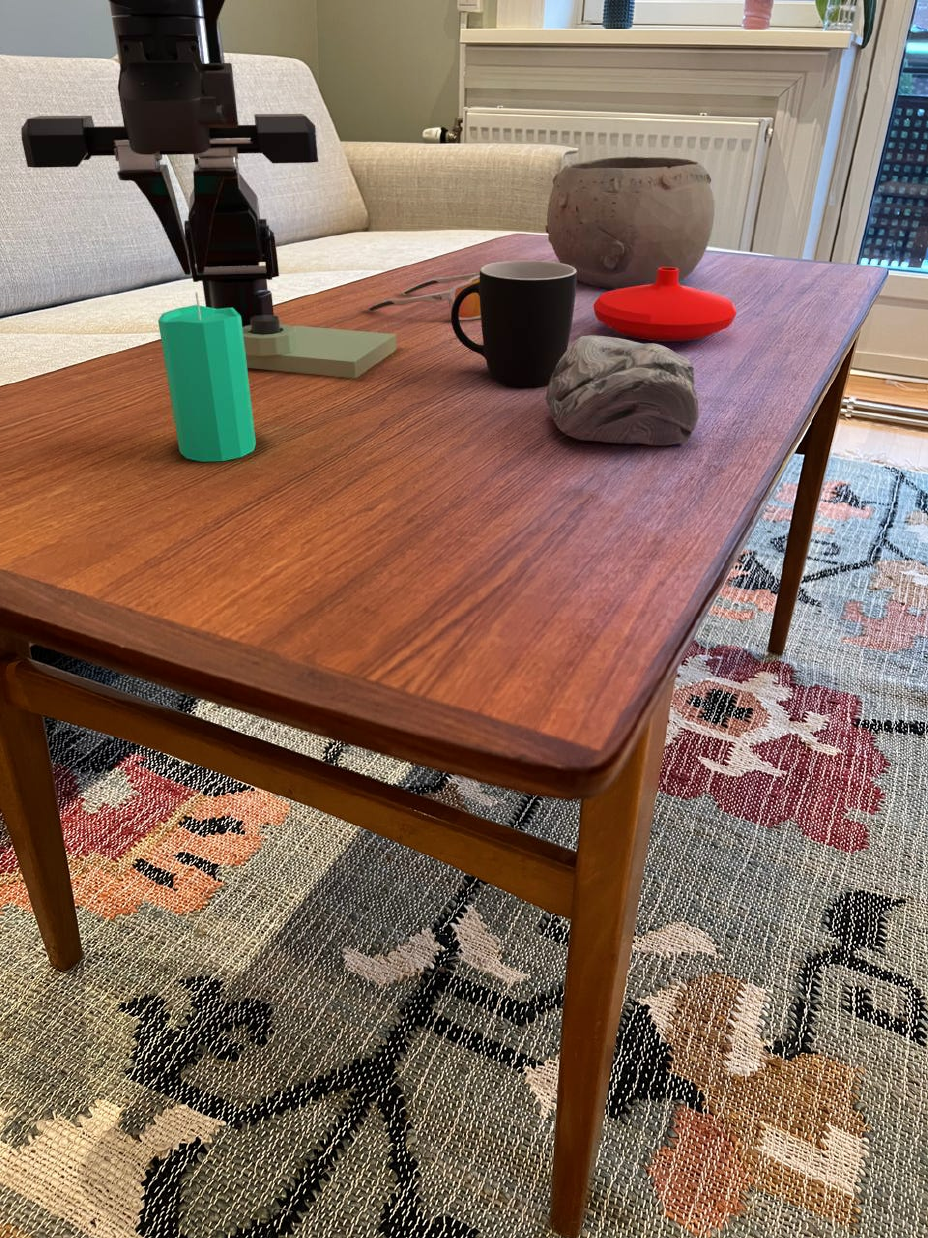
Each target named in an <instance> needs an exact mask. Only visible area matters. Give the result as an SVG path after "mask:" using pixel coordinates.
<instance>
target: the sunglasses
mask: <svg viewBox="0 0 928 1238" xmlns="http://www.w3.org/2000/svg"><path fill="white" fill-rule="evenodd" d="M479 279H480V271H479V272H473V273H466V274H458V275H453V276H446V277H435V278H433V279H430V280H426V281H424V282H423V281H422V282H420V283H418V284H416V285H413V286H412V287H409V288H408V289H405V290H403V291H402V292H401V293H400V294H401V295H403V296H404V297H405V296H408V295H412V294H413V293H415V292H418V291H420V290H423V289H426V288H428V287H432V286H437V285H443V284H446V285H447V284H450V283H453V282H458V281H465V282H463V283H461V284H457V285H455V286H452V287H451V288H450V289H449V290H445V291H440V292H435V293H430V294H425V295H419V296H414V297H407V298H390V299H387V300H383V301H380V302H377V303H375V304H373V305H371V306H369V307H367V311H368V312H370V313H373V312H376V311H378V310H381V309H383V308H387V307H393V306H394V307H395V306H401V307H403V306H407V305H410V304H414V303H423V302H428V303H435V304H436V303H439V302H442V301H448V302H449V314H450V316H451V311H452V306H453V303H454V301H455V299H456V297H457V296H458V295H459V293H460V292H461V291H462V290H463V289H465V288H466V287H468V286H470V285H472V284H475V283H478V282H479ZM466 280H467V281H466ZM478 319H481V312H480V297H479V295H478V293H472V294H469V295H468V296H467V297H466V298H465V299H464V300H463V302H462V303H461V306H460V309H459V321H473V320H478Z"/></svg>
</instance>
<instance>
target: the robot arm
mask: <svg viewBox="0 0 928 1238" xmlns="http://www.w3.org/2000/svg"><path fill="white" fill-rule="evenodd" d="M108 2H109V7H110V14H111V20H112V26H113V32H114V33H113V34H114V39H115V46H116V52H117V56H118V63H119V74H118V83H117V92H118V99H119V104H120V110H121V115H122V116H121V117H122V122H123V125H107V126H106V125H105V126H103V125H100V126H99V125H97V126H95V124H94V120H93V115H38V116H34V117H29V118H27V119H26V121H25V122H24V124H23V125H22V127H20V131H21V143H22V147H23V148H22V149H23V152H24V157H25V162H26V166H27V168H35V169H42V168H44V169H45V168H47V169H48V168H78V167H79V166H80V165H81V164H82V162H83V161H89V160H90V159H91V158H92V157H105V156H106V157H108V156H109V157H110V156H111V157H113V156H114V158H115V162H118V168H119V169H118V171H117V172H116V173H117V177H118V180H119V181H123V182H126V181H130V182H131V181H132V182H134V183H135V185H136V186H137V187H138V189H139V190H140V191H141V193H143V196H144V197H145V198H146V200H147V201H148V203H149V205H150V206H151V208H152V210H153V211H154V213H155V214H156V216H157V219H158V220H159V222H160V224H161V226H162V228H163V230H164V233H165V235H166V237H167V239H168V241H169V243H170V245H171V247H172V250H173V252H174V254H175V256H176V258H177V260H178V263H179V265H180V267H181V269H182V271H183V274H184V275H185V276H190V275H191V279H192V281H193V283H199V282H201V283H202V290H203V291H202V292H203V299H204V304H205V305H204V306H205V307H210V308H215V309H222V308H234V309H235V310H236V311H237V312H238V313H239V315H240V316H241V320H242V327H245V326H249V325H251V320H250V319H251V318H252V317H254V316H259V315H274V316H275V314H274V304H273V293H272V291H271V290H269V289H268V281H273V278H277V277H280V271H279V262H278V261H279V260H278V259H279V258H278V251H277V244H276V235H275V232H274V231H272V230H271V229H270V225H268V220H267V218H261V214H260V213H261V212H260V206H259V198H258V195H257V194H256V193H255V191H254V190H253V188H252V187H251V186H250V185H249V184H248V182H247V181H246V180H245V178H244V177H243V176H242V175H241V174H240V168H239V160H238V159H239V155H240V154H262V155H263V156H264V157H265V158H266V159H267V160H268V161H269V162H270V163H271V164H312V163H319V150H318V139H317V138H318V137H317V129H316V125H315V123H314V122H312V120H310V118H309V117H308V116H307V115H305V114H304V113H254V115H253V116H254V124H239V118H238V110H237V100H236V99H237V98H236V90H235V81H234V75H233V63H231V62H225V55H224V47H223V46H224V45H223V40H222V30H221V25H220V24H221V23H220V17H219V16H220V14H221V12H222V10H223V7H224V4H225V2H226V0H108ZM168 155H169V156H173V155H178V156H179V155H193V160H194V165H195V166H194V168H193V171H192V174H193V176H192V177H193V189H192V191H191V193H190V196H189V203H188V216H187V219H186V220H184V225H183V223H182V219H181V215H180V211H179V206H178V202H177V198H176V195H175V190H174V187H173V183H172V179H171V174H170V170H169V166H168V164H166V163H165V164H164V163H163V164H161V161H162V160H163V156H168ZM183 226H184V227H183ZM260 263H264V265H260Z"/></svg>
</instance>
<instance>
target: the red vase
mask: <svg viewBox="0 0 928 1238" xmlns="http://www.w3.org/2000/svg"><path fill="white" fill-rule="evenodd" d="M678 272H679V269H678V268H674V267H660V268H658V274H657V280H656V283H654V284H650V285H641V286H634V287H628V288H621V289H620V288H615V289H613V290H608V291H605V292H604V293H602V294H600V295H599V297H598V298H596V300H595V301H594V303H593V305H592V308H593V313H594V315H595V318H596V319H597V321H599V322H600V323H602V324H604V325H605V326H607V327H608V328H610V329H612V330H614V331H615V332H617V333H619V334H621V335H624V336H627V337H630V338H635V339H641V340H647V341H656V342H682V341H684V342H685V341H693V340H700V339H704V338H706V337H708V336H711V335H713V334H715V333H718V332H720V331H722V330H725V329H727V328H728V327H730V326H731V325H732V324H733V322H734V320H735V318H736V316H737V308H736V307H735V305H734V303H733V301H731V300H730V299H729V298H728V297H725V296H723V295H721V294H717V293H713V292H710V291H707V290H704V289H703V290H702V289H698V288H695V287H690V286H686V285H681V284H680V283H679V282H678Z"/></svg>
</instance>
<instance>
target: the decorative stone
mask: <svg viewBox="0 0 928 1238" xmlns="http://www.w3.org/2000/svg"><path fill="white" fill-rule="evenodd" d="M694 369H695V368H694V366H693V364H692V362H691V361H689V359H687V358H686V357H684V356H682V355H680V354H678V353H676V352H675V351H673V350H672V349H670V348H668V347H666V346H664V345H661V344H659V343H641V342H638V341H634V340H629V339H624V338H619V337H612V336H606V335H605V336H604V335H591V334H589V335H582V336H580V337H579V338H577V339H576V340H575V341H574V342H573V343H572V344H571V345H570V346H568V348H567V351H566V352H565V353H564V355H563V356H562V357H561V359H560V360H559V362H558V364H557V365H556V368H555V370H554V372H553V374H552V376H551V380H550V383H549V384H548V385H547V392H546V395H545V401H546V404H547V406H548V410H549V413H550V416H551V419H552V420H553V421H554V423H555V425H556V426H557V428H558V429H559V431H561V432H562V433H563V434H565V435H566V436H569V437H572V438H573V439H576V440H579V441H588V442H589V441H592V442H600V443H605V444H606V443H607V444H609V443H610V444H630V445H634V444H643V445H648V446H670V445H677V444H679V445H683V444H685V443H687V442H689V439H690V438H691V435H692V433H693V432H694V431H695V430H696V426H697V424H698V421H699V411H700V410H699V403H698V398H697V394H696V390H695V371H694Z"/></svg>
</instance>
